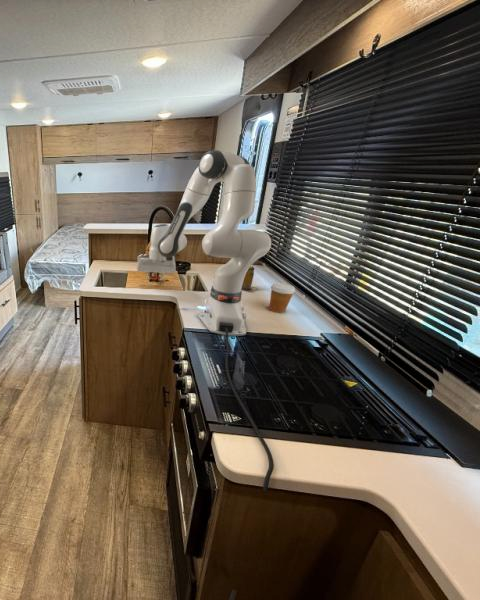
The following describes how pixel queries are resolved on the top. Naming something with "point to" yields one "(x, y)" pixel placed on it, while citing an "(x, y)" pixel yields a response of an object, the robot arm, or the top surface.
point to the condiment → (248, 280)
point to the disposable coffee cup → (280, 296)
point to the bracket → (151, 275)
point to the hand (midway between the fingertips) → (154, 279)
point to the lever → (154, 276)
